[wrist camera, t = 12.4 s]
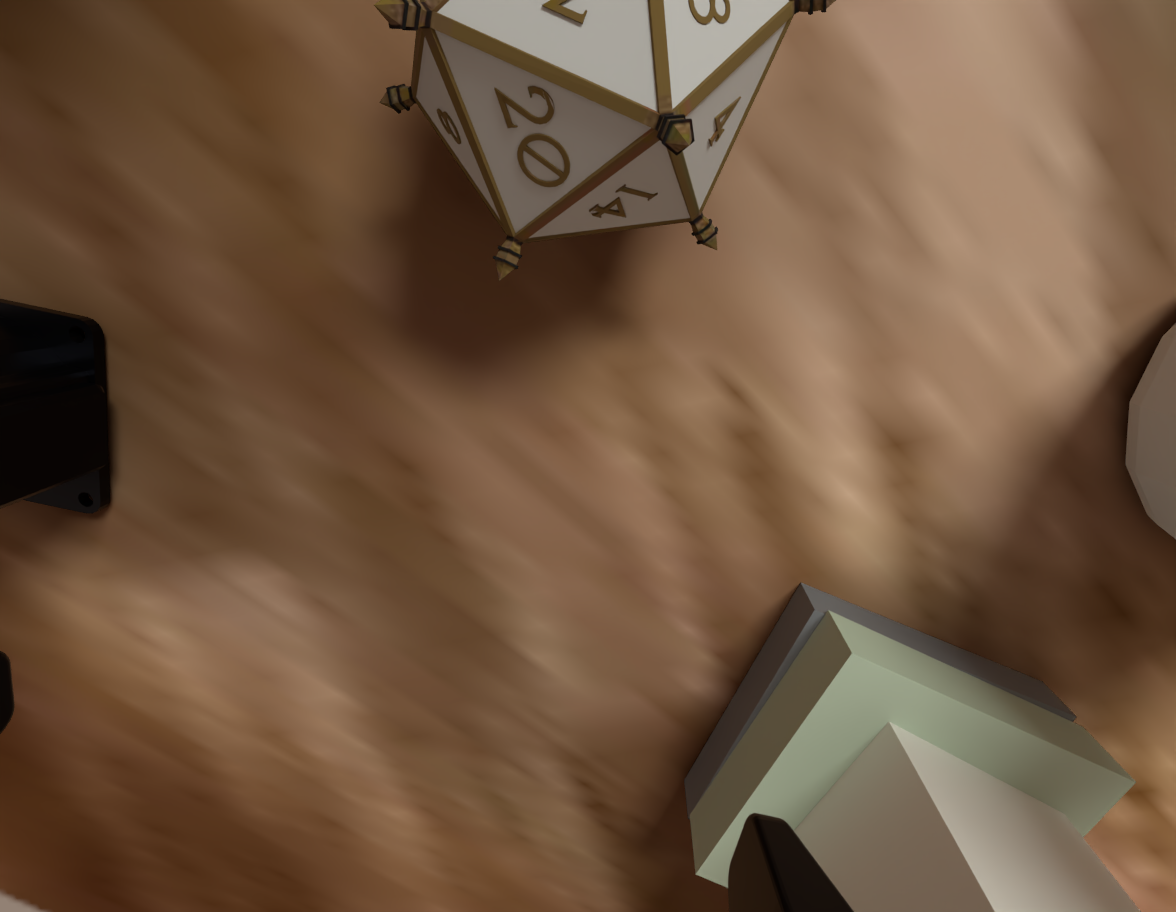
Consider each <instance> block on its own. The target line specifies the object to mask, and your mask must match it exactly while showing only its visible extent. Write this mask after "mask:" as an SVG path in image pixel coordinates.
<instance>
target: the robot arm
mask: <svg viewBox="0 0 1176 912" xmlns="http://www.w3.org/2000/svg"><path fill="white" fill-rule="evenodd" d="M80 328H81V329H82V330H83V331H84V333H85V340H84V339H83V338H82V336H81V334H80ZM88 494H90V496H91V497H92V498H93V501H92V500H91V499H90V498H89V495H88ZM21 500H26V501H31V502H36V503H40V504H45V505H50V506H55V507H59V508H64V509H69V510H73V511H78V512H83V513H94V512H96V511H99V510H101V509H103V508H105V507H107V505H108V504H109V501H110V485H109V460H108V434H107V409H106V383H105V358H104V336H103V331H102V329H101V327H100V326H99V324H98V323H97V322H96V321H94V320H93V319H91V318H88V317H85V316H80V315H75V314H70V313H66V312H61V311H56V310H51V309H47V308H42V307H37V306H32V305H28V304H23V303H18V302H13V301H9V300H4V299H0V508H3V507H6V506H8V505H11V504H13V503H16V502H18V501H21ZM13 712H14V694H13V684H12V674H11V664H10V660H9V658H8V656H7V655H6V654H5V653H3V652H2V651H0V734H1V733H2V731H3V730H4V729H5V728H6V726H7V725H8V723H9V722H10V720H11V717H12V715H13ZM728 898H729V912H854V911H853V909H852V908H851V907H850V905H849V904H848V903H847V901H846V900H845V899H844V897H843V896H842V895H841V893H840V892H839V891H838V889H837V888H836V887H835V885H834V884H833V883H832V881H831V880H830V879H829V877H828V876H827V875H826V873H825V872H824V871H823V869H822V868H821V867H820V865H819V864H818V863H817V861H816V860H815V859H814V857H813V856H812V855H811V853H810V852H809V851H808V849H807V848H806V847H805V845H804V844H803V843H802V841H801V840H800V838H799V837H798V836H797V834H796V833H795V832H794V830H793V829H792V828H791V826H790V825H789V824H788V823H787V822H786V821H785V820H783V819H781V818H777V817H772V816H768V815H763V814H758V813H752V814H750V815H749V816H748V817H747V819H746V821H745V823H744V826H743V829H742V832H741V834H740V837H739V840H738V843H737V845H736V848H735V851H734V854H733V857H732V859H731V863H730V867H729V874H728Z"/></svg>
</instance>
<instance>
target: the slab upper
mask: <svg viewBox="0 0 1176 912" xmlns="http://www.w3.org/2000/svg"><path fill="white" fill-rule="evenodd" d="M888 722H891V723H893V724H895V725H896V726H898V727H900V728H902V729H904V730H906V731H908V732H910V733H912V734H914V735H915V736H917V737H919V738H921V739H923V740H925V741H927V742H929V743H931V744H933V745H934V746H936V747H938V748H940V749H942V750H944V751H946V752H948V753H950V754H952V755H953V756H955V757H957V758H959V759H961V760H963V761H965V762H967V763H969V764H971V765H972V766H974V767H976V768H978V769H980V770H982V771H984V772H986V773H988V774H990V775H991V776H993V777H995V778H997V779H999V780H1001V781H1003V782H1005V783H1007V784H1009V785H1010V786H1012V787H1014V788H1016V789H1018V790H1020V791H1022V792H1024V793H1026V794H1028V795H1029V796H1031V797H1033V798H1035V799H1037V800H1039V801H1041V802H1043V803H1045V804H1047V805H1048V806H1050V807H1052V808H1054V809H1056V810H1058V811H1060V812H1062V813H1064V814H1065V815H1066V816H1067V818H1068V819H1069V820H1070V822H1071V823H1072V824H1073V825H1074V827H1075V828H1076V829H1077V831H1078V832H1079V833H1080V834H1081V836H1082V837H1084V836H1085V835H1086V834H1087V833H1088V832H1089V831H1090V830H1091V829H1092V828H1093V827H1094V826H1095V825H1096V824H1097V823H1098V822H1099V820H1100V819H1101V818H1102V817H1103V816H1104V815H1105V814H1106V813H1107V812H1108V811H1109V810H1110V809H1111V808H1112V807H1113V806H1114V805H1115V804H1116V803H1117V802H1118V801H1119V800H1120V799H1121V798H1122V796H1123V795H1124V794H1125V793H1126V792H1127V791H1128V790H1129V789H1130V788H1131V787H1132V786H1133V785H1134V784H1135V783H1136V781H1135V780H1134V779H1133V778H1132V777H1131V776H1130V775H1129V774H1128V773H1127V772H1126V771H1125V770H1124V769H1123V768H1122V767H1121V766H1120V765H1119V764H1118V763H1117V762H1116V761H1115V760H1114V759H1113V758H1112V757H1111V756H1110V754H1109V753H1108V752H1107V751H1106V750H1105V749H1104V748H1103V747H1102V746H1101V745H1100V744H1099V743H1098V742H1097V741H1096V740H1095V739H1094V738H1093V737H1092V736H1091V735H1090V734H1089V733H1088V732H1087V731H1086V730H1085V729H1084V728H1083V727H1082V726H1080V725H1078V724H1076V723H1074V722H1072V721H1069V720H1067V719H1065V718H1063V717H1061V716H1058V715H1056V714H1054V713H1052V712H1050V711H1048V710H1045V709H1043V708H1041V707H1039V706H1037V705H1034V704H1032V703H1030V702H1028V701H1026V700H1023V699H1021V698H1019V697H1017V696H1015V695H1013V694H1010V693H1008V692H1006V691H1004V690H1002V689H999V688H997V687H995V686H993V685H991V684H989V683H986V682H984V681H982V680H980V679H978V678H975V677H973V676H971V675H969V674H967V673H965V672H962V671H960V670H958V669H956V668H954V667H951V666H949V665H947V664H945V663H943V662H941V661H938V660H936V659H934V658H932V657H930V656H927V655H925V654H923V653H921V652H919V651H916V650H914V649H912V648H910V647H908V646H906V645H903V644H901V643H899V642H897V641H895V640H892V639H890V638H888V637H886V636H884V635H882V634H879V633H877V632H875V631H873V630H871V629H868V628H866V627H864V626H862V625H860V624H858V623H855V622H853V621H851V620H849V619H847V618H844V617H842V616H840V615H838V614H836V613H834V612H831V611H829V610H828V611H827V612H826V614H825V616H824V617H823V619H822V620H821V622H820V623H819V625H818V626H817V627H816V629H815V630H814V632H813V633H812V635H811V636H810V638H809V639H808V641H807V642H806V644H805V645H804V647H803V648H802V650H801V651H800V653H799V654H798V656H797V657H796V659H795V660H794V662H793V663H792V664H791V666H790V667H789V669H788V670H787V672H786V673H785V675H784V676H783V678H782V679H781V681H780V682H779V684H778V685H777V687H776V688H775V690H774V691H773V693H772V694H771V696H770V697H769V699H768V700H767V702H766V703H765V704H764V706H763V707H762V709H761V710H760V712H759V713H758V715H757V716H756V718H755V719H754V721H753V722H752V724H751V725H750V727H749V728H748V730H747V731H746V733H745V734H744V736H743V737H742V739H741V740H740V741H739V743H738V744H737V746H736V747H735V749H734V750H733V752H732V753H731V755H730V756H729V758H728V759H727V761H726V762H725V764H724V765H723V767H722V768H721V770H720V771H719V773H718V774H717V776H716V777H715V778H714V780H713V781H712V783H711V784H710V786H709V787H708V789H707V790H706V792H705V793H704V795H703V796H702V798H701V799H700V801H699V802H698V804H697V805H696V807H695V808H694V809H693V811H692V812H691V814H690V824H691V834H692V844H693V854H694V864H695V874H696V875H698V876H701V877H703V878H705V879H708V880H710V881H713V882H715V883H717V884H720V885H722V886H724V887H727V888H728V874H729V867H730V863H731V859H732V857H733V854H734V851H735V848H736V845H737V843H738V840H739V837H740V834H741V832H742V829H743V826H744V823H745V821H746V819H747V817H748V816H749V815H750V814H752V813H758V814H763V815H768V816H772V817H777V818H781V819H783V820H785V821H786V822H787V823H788V824H789V825H790V826H791V828H792V829H793V830H795V829H796V828H797V827H798V826H799V824H800V823H801V822H802V821H803V820H804V819H805V818H806V816H807V815H808V814H809V813H810V812H811V811H812V809H813V808H814V807H815V806H816V805H817V804H818V803H819V801H820V800H821V799H822V798H823V797H824V796H825V794H826V793H827V792H828V791H829V790H830V789H831V788H832V786H833V785H834V784H835V783H836V782H837V781H838V779H839V778H840V777H841V776H842V775H843V774H844V773H845V771H846V770H847V769H848V768H849V767H850V766H851V765H852V763H853V762H854V761H855V760H856V759H857V758H858V756H859V755H860V754H861V753H862V752H863V751H864V750H865V748H866V747H867V746H868V745H869V744H870V743H871V742H872V740H873V739H874V738H875V737H876V736H877V735H878V734H879V732H880V731H881V730H882V729H883V728H884V727H885V726H886V724H887V723H888Z"/></svg>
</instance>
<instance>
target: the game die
mask: <svg viewBox="0 0 1176 912" xmlns="http://www.w3.org/2000/svg"><path fill="white" fill-rule="evenodd" d="M834 1H836V0H420V2H419V1H418V0H380V1H379V2H377V3H376V4H375V5H374V6H375V7H376V8H377V9H378V10H379V12H380V13H381V14H382V15H383V16H384V18H385V19H386V20H387V21H388V22H389V27H390V28H392V29H402V30H416V39H415V49H414V60H413V70H412V80H411V86H410V87H407V86H405V84H402V85H398V86H391V87H388V88H386V89H387V92H386V93H385V95H384V96H383V98H382V99H381V101H380V102H379V103H382V104H384V105H386V106H388V107H390V108H392V109H394V110H395V111H396V112H397V113H401V110H403V109H406V110H407V111H409V110H410V106H412V105H413V104H414V103H417V104H418V106H419V107H420V109H421V110H422V112H423V113H424V115H425V116H426V118H427V119H428V120H429V122H430V123H431V125H432V126H433V128H434V129H435V131H436V132H437V134H438V135H439V137H440V138H441V140H442V141H443V142H444V144H445V145H446V147H447V148H448V150H449V151H450V153H451V154H452V156H453V157H454V159H455V160H456V162H457V163H458V164H459V166H460V167H461V169H462V170H463V172H464V173H465V175H466V176H467V178H468V179H469V181H470V182H471V184H472V185H473V186H474V188H475V189H476V191H477V192H478V194H479V195H480V197H481V198H482V200H483V201H484V203H485V204H486V206H487V207H488V208H489V210H490V211H491V213H492V214H493V216H494V217H495V219H496V220H497V222H498V223H499V225H500V226H501V228H502V229H503V230H504V232H505V233H506V235H507V239H506V241H505V242H504V243H503V245H502V246H498V249H499V252H498V254H497V256H494V257H493V259H495V261H496V266H497V272H498V277H499V281H500V280H501V279H502V278H503V277H505V276H506V275H507V274H508V273H510V272H511V271H512V270H513V269H518V266H517V262H518V259H520V258H521V257H522V255H520V249H521V245H522V243H528V242H535V241H543V240H551V239H559V238H566V237H574V236H582V235H590V234H597V233H605V232H613V231H621V230H628V229H636V228H644V227H652V226H659V225H667V224H675V223H683V222H689V223H690V224H691V226H692V229H693V233H692V235H693V236H694V235H695V236H696V238H697V240H698V241H697V242H696V243H697V244H703V245H706V246H708V247H710V248H713V249H715V250H717V238H716V234H717V231H718V228H717V227H715V228H714V226H713V225H712V220H711V219H709V220H708V219H707V218H706V217H704V216H703V214H702V211H703V209H704V206H705V204H706V202H707V200H708V198H709V196H710V194H711V191H712V189H713V187H714V185H715V183H716V181H717V179H718V176H719V174H720V172H721V170H722V168H723V166H724V164H725V161H726V159H727V157H728V155H729V153H730V151H731V149H732V146H733V144H734V142H735V140H736V138H737V136H738V134H739V131H740V129H741V127H742V125H743V123H744V121H745V119H746V116H747V114H748V112H749V110H750V108H751V106H752V104H753V101H754V99H755V97H756V95H757V93H758V91H759V89H760V86H761V84H762V82H763V80H764V78H765V76H766V74H767V71H768V69H769V67H770V65H771V63H772V61H773V59H774V56H775V54H776V52H777V50H778V48H779V46H780V44H781V41H782V39H783V37H784V35H785V33H786V31H787V29H788V26H789V24H790V22H791V20H792V18H793V16H794V14H795V13H797V12H799V11H801V12H808V14H809V15H811V14H813V11H818V10H821V12H826V8H827V7H829V6H830V5H831V4H832V3H833V2H834Z"/></svg>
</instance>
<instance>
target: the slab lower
mask: <svg viewBox="0 0 1176 912" xmlns="http://www.w3.org/2000/svg"><path fill="white" fill-rule="evenodd" d="M828 610H829V611H831V612H834V613H836V614H838V615H840V616H842V617H844V618H847V619H849V620H851V621H853V622H855V623H858V624H860V625H862V626H864V627H866V628H868V629H871V630H873V631H875V632H877V633H879V634H882V635H884V636H886V637H888V638H890V639H892V640H895V641H897V642H899V643H901V644H903V645H906V646H908V647H910V648H912V649H914V650H916V651H919V652H921V653H923V654H925V655H927V656H930V657H932V658H934V659H936V660H938V661H941V662H943V663H945V664H947V665H949V666H951V667H954V668H956V669H958V670H960V671H962V672H965V673H967V674H969V675H971V676H973V677H975V678H978V679H980V680H982V681H984V682H986V683H989V684H991V685H993V686H995V687H997V688H999V689H1002V690H1004V691H1006V692H1008V693H1010V694H1013V695H1015V696H1017V697H1019V698H1021V699H1023V700H1026V701H1028V702H1030V703H1032V704H1034V705H1037V706H1039V707H1041V708H1043V709H1045V710H1048V711H1050V712H1052V713H1054V714H1056V715H1058V716H1061V717H1063V718H1065V719H1067V720H1069V721H1072V722H1073V721H1074V720H1075V718H1076V716H1075V715H1074V714H1073V712H1072V711H1071V710H1070V709H1069V708H1068V707H1067V706H1066V705H1065V704H1064V703H1063V702H1062V701H1061V700H1060V699H1059V698H1058V697H1057V696H1056V695H1055V694H1054V693H1053V692H1052V691H1051V690H1050V689H1049V688H1048V687H1047V686H1046V685H1045V684H1044V683H1043V682H1042V681H1040V680H1037V679H1035V678H1032V677H1030V676H1027V675H1025V674H1023V673H1020V672H1018V671H1015V670H1013V669H1010V668H1008V667H1005V666H1003V665H1001V664H998V663H996V662H993V661H991V660H988V659H986V658H983V657H981V656H979V655H976V654H974V653H971V652H969V651H966V650H964V649H962V648H959V647H957V646H954V645H952V644H949V643H947V642H944V641H942V640H940V639H937V638H935V637H932V636H930V635H927V634H925V633H922V632H920V631H918V630H915V629H913V628H910V627H908V626H905V625H903V624H901V623H898V622H896V621H893V620H891V619H888V618H886V617H883V616H881V615H879V614H876V613H874V612H871V611H869V610H866V609H864V608H861V607H859V606H857V605H854V604H852V603H849V602H847V601H844V600H842V599H840V598H837V597H835V596H832V595H830V594H827V593H825V592H822V591H820V590H818V589H815V588H813V587H810V586H808V585H805V584H803V583H800V585H799V586H798V588H797V590H796V591H795V593H794V595H793V596H792V598H791V600H790V602H789V603H788V605H787V607H786V608H785V610H784V612H783V613H782V615H781V617H780V618H779V620H778V622H777V624H776V625H775V627H774V629H773V630H772V632H771V634H770V635H769V637H768V639H767V641H766V642H765V644H764V646H763V647H762V649H761V651H760V652H759V654H758V656H757V657H756V659H755V661H754V663H753V664H752V666H751V668H750V669H749V671H748V673H747V674H746V676H745V678H744V680H743V681H742V683H741V685H740V686H739V688H738V690H737V691H736V693H735V695H734V696H733V698H732V700H731V702H730V703H729V705H728V707H727V708H726V710H725V712H724V713H723V715H722V717H721V719H720V720H719V722H718V724H717V725H716V727H715V729H714V730H713V732H712V734H711V735H710V737H709V739H708V741H707V742H706V744H705V746H704V747H703V749H702V751H701V752H700V754H699V756H698V758H697V759H696V761H695V763H694V764H693V766H692V768H691V769H690V771H689V773H688V774H687V776H686V778H685V780H684V783H685V794H686V804H687V814H688V819H690V814H691V812H692V811H693V809H694V808H695V807H696V805H697V804H698V802H699V801H700V799H701V798H702V796H703V795H704V793H705V792H706V790H707V789H708V787H709V786H710V784H711V783H712V781H713V780H714V778H715V777H716V776H717V774H718V773H719V771H720V770H721V768H722V767H723V765H724V764H725V762H726V761H727V759H728V758H729V756H730V755H731V753H732V752H733V750H734V749H735V747H736V746H737V744H738V743H739V741H740V740H741V739H742V737H743V736H744V734H745V733H746V731H747V730H748V728H749V727H750V725H751V724H752V722H753V721H754V719H755V718H756V716H757V715H758V713H759V712H760V710H761V709H762V707H763V706H764V704H765V703H766V702H767V700H768V699H769V697H770V696H771V694H772V693H773V691H774V690H775V688H776V687H777V685H778V684H779V682H780V681H781V679H782V678H783V676H784V675H785V673H786V672H787V670H788V669H789V667H790V666H791V664H792V663H793V662H794V660H795V659H796V657H797V656H798V654H799V653H800V651H801V650H802V648H803V647H804V645H805V644H806V642H807V641H808V639H809V638H810V636H811V635H812V633H813V632H814V630H815V629H816V627H817V626H818V625H819V623H820V622H821V620H822V619H823V617H824V616H825V614H826V612H827V611H828Z"/></svg>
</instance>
